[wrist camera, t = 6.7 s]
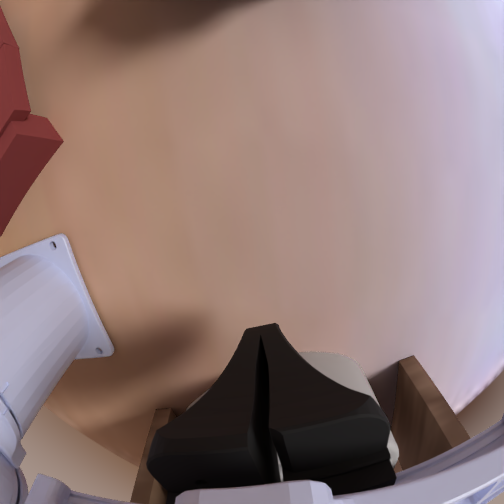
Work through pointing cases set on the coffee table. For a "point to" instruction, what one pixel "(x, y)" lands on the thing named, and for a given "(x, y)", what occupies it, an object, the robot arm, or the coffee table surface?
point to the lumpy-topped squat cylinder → (346, 375)
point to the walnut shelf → (403, 428)
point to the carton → (19, 131)
